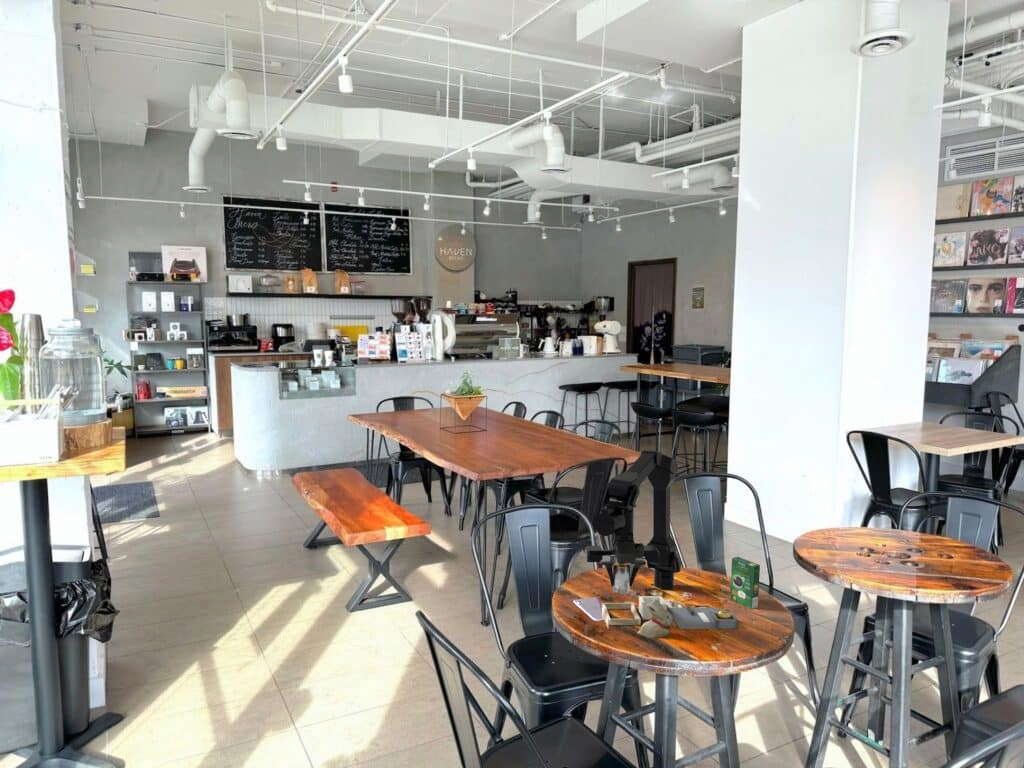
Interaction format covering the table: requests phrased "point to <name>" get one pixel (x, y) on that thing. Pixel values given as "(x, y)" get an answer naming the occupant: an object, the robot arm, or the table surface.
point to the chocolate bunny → (657, 621)
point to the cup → (647, 600)
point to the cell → (621, 578)
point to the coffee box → (745, 582)
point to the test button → (724, 613)
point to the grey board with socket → (701, 618)
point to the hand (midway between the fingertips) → (621, 586)
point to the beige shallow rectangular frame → (620, 621)
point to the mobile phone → (591, 607)
